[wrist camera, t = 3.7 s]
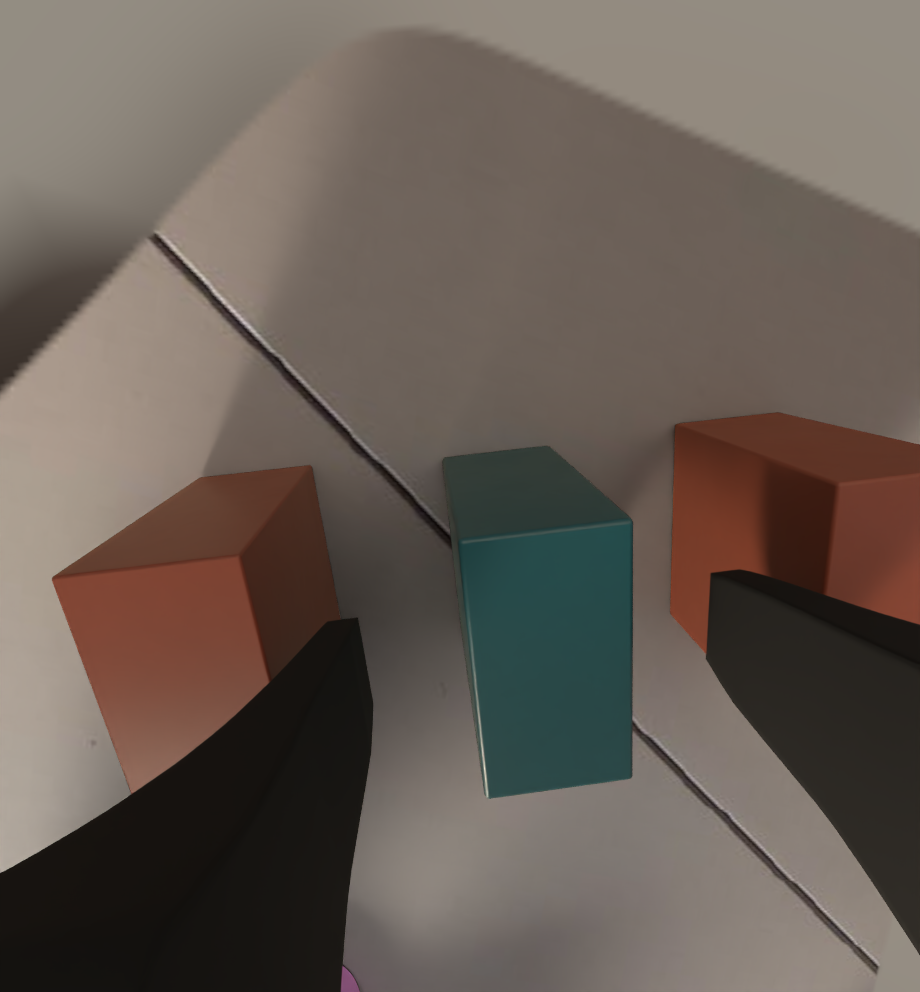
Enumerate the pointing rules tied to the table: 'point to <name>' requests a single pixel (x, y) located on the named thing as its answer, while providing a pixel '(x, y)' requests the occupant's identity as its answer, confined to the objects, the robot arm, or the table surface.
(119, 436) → the table surface
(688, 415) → the table surface
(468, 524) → the teal rectangular block
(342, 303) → the table surface
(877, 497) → the pair of orange blocks
